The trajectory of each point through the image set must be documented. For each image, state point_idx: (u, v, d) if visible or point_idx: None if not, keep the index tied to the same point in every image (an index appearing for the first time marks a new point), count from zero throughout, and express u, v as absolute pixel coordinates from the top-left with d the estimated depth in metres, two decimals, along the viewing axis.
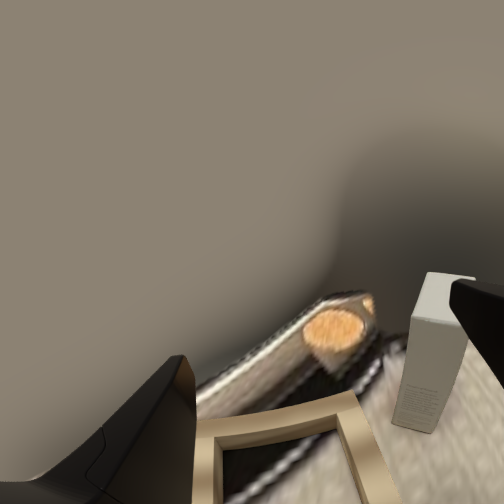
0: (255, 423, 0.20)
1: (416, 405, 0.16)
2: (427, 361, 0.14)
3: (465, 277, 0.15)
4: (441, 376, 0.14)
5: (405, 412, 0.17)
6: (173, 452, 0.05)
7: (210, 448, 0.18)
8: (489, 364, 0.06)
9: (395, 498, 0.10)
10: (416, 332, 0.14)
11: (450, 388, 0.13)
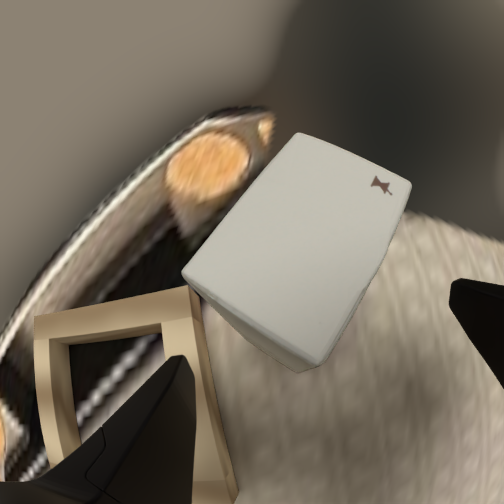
0: (79, 323, 0.16)
1: (262, 349, 0.14)
2: (249, 333, 0.09)
3: (386, 174, 0.07)
4: (281, 356, 0.10)
5: (254, 344, 0.15)
6: (173, 452, 0.05)
7: (46, 354, 0.15)
8: (489, 364, 0.06)
9: (216, 468, 0.12)
10: (204, 297, 0.08)
11: (302, 370, 0.10)
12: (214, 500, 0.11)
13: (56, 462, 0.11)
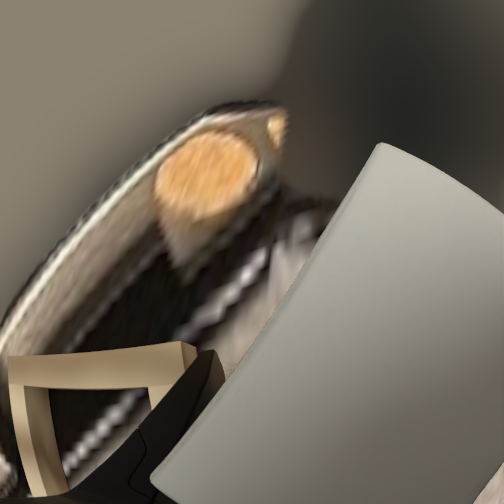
0: (53, 373, 0.12)
1: None
2: None
3: None
4: None
5: None
6: None
7: (22, 402, 0.11)
8: None
9: None
10: None
11: None
12: None
13: None
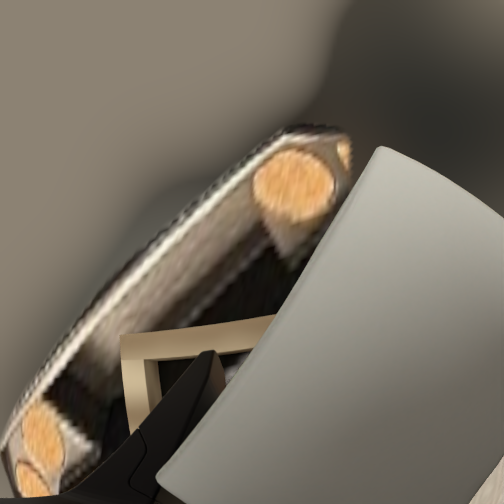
0: (185, 343, 0.18)
1: None
2: None
3: None
4: None
5: None
6: None
7: (141, 375, 0.18)
8: None
9: None
10: None
11: None
12: None
13: None
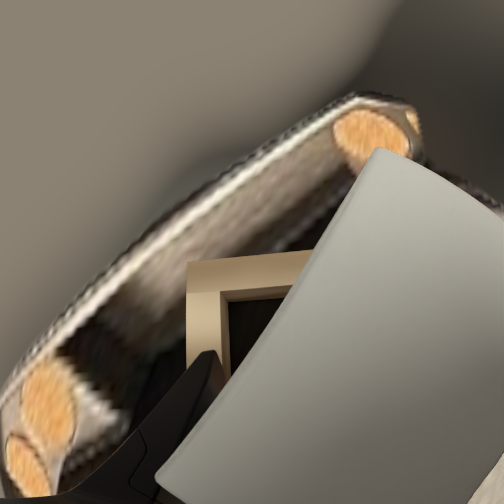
0: (279, 271, 0.16)
1: None
2: None
3: None
4: None
5: None
6: None
7: (215, 312, 0.15)
8: None
9: None
10: None
11: None
12: None
13: None
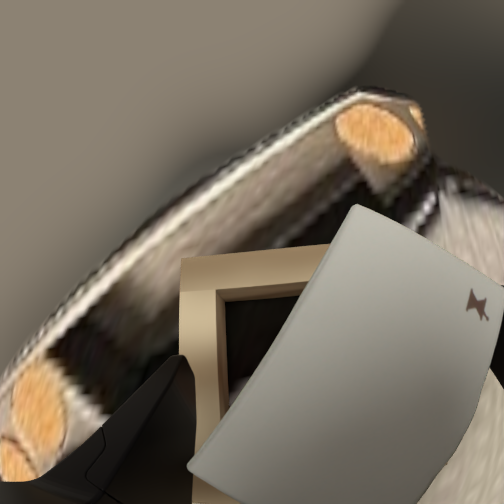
0: (280, 268, 0.15)
1: None
2: None
3: (482, 283, 0.04)
4: None
5: None
6: (173, 452, 0.05)
7: (210, 312, 0.14)
8: None
9: None
10: None
11: None
12: None
13: None
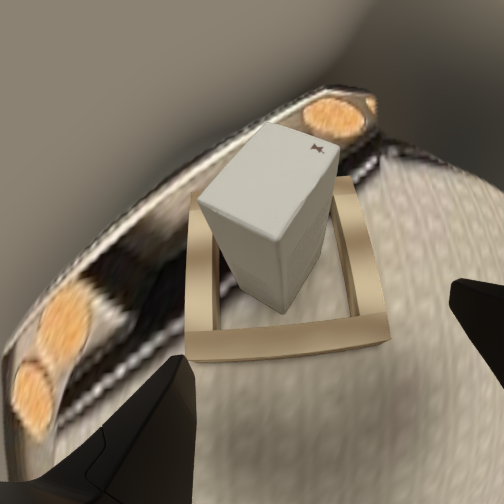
0: None
1: (252, 285, 0.18)
2: (238, 252, 0.14)
3: (321, 142, 0.12)
4: (262, 272, 0.14)
5: (246, 286, 0.20)
6: (173, 452, 0.05)
7: None
8: (489, 364, 0.06)
9: (380, 300, 0.18)
10: (209, 218, 0.12)
11: (279, 287, 0.15)
12: (377, 333, 0.17)
13: (198, 329, 0.18)
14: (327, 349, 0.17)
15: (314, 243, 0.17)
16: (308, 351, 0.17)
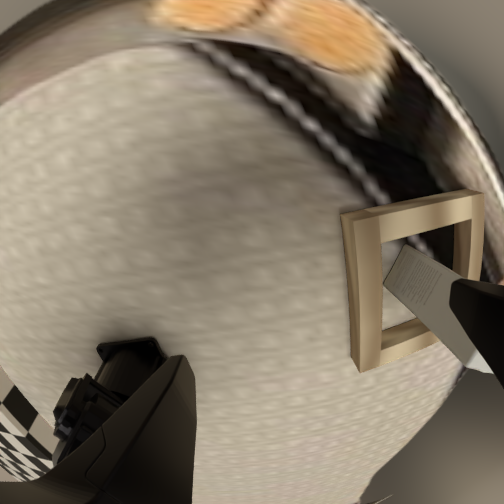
0: (475, 253, 0.19)
1: (417, 277, 0.18)
2: None
3: None
4: (437, 315, 0.15)
5: (413, 263, 0.19)
6: (173, 452, 0.05)
7: (463, 217, 0.18)
8: (489, 364, 0.06)
9: (387, 361, 0.22)
10: None
11: (421, 319, 0.16)
12: (365, 364, 0.22)
13: (381, 229, 0.18)
14: (360, 334, 0.21)
15: None
16: (360, 322, 0.20)
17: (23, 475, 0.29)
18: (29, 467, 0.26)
